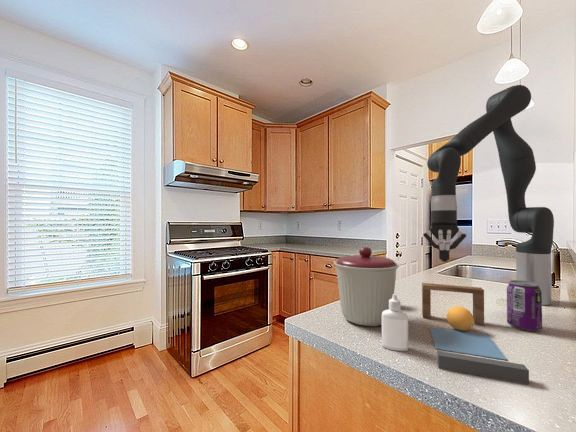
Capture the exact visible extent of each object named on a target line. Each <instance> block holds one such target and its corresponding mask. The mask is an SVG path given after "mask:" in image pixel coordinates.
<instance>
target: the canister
mask: <svg viewBox="0 0 576 432" xmlns="http://www.w3.org/2000/svg"><path fill="white" fill-rule="evenodd" d="M358 253H359V254H358V255H357V254H356V255H345V256H341V257H339V258H338V259H336V260H334V261H333V265H335V266H336V267H335V268H336V277H337V284H338V285H337V286H338V295H339V301H340V302H339V303H340V308H341V313H342V316H343V317H344V318H345V319H346V320H347V321H348V322H350V323H352V324H355V325H359V326H365V327H378V326H382V312H383V311H384V310H388V309H389V300H390V299H392V297H393V294H395V288H396V279H397V278H396V277H397V269H398V268H400V264H399V263H397V262H395V260H393V259H391V258H388V257H385V256H380V255H379V256H378V255H372V253H373V251H372V249H371V248H370V247H368V246H363V247H360V249H359V250H358Z"/></svg>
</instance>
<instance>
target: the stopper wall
mask: <svg viewBox="0 0 576 432" xmlns="http://www.w3.org/2000/svg"><path fill="white" fill-rule="evenodd" d="M436 355H437V356H436V360H437V362H436V363H437V367H438V369H442V370H447V371H451V372H458V373H463V374H470V375H473V376H480V377H484V378H490V379H491V378H492V379H495V380H496V379H497V380H502V381H506V382H513V383H518V384H523V385H528V384H529V385H530V370H529V369H528V368H527V366H526V365H525V364H523V363H515V362H509V361H505V360H499V359H493V358H487V357H480V356H474V355H468V354H462V353H456V352H449V351H443V350H436Z"/></svg>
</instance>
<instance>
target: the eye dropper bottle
mask: <svg viewBox="0 0 576 432" xmlns="http://www.w3.org/2000/svg"><path fill="white" fill-rule="evenodd" d="M381 346H382V347H383V348H385V349H388V350H391V351H397V352H407V351H408V350H409V316H408V314H407V313H406V312H405V311H403V310H401V300H399V299H398V297H397V294H396V293H394V294H393V297H392V299H390V300H389V309H388V310H384V311H383V312H382V325H381Z"/></svg>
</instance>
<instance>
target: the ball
mask: <svg viewBox="0 0 576 432" xmlns="http://www.w3.org/2000/svg"><path fill="white" fill-rule="evenodd" d="M446 319H447V322H448V324H449V326H451V327H452V328H453V329H454V330H457V331H465V332H466V331H468V330H470V329H472V328H473V326H474V324H475V323H474V318H473V313H472V312H471V311H469V309H467V308H466V307H464V306H458V305H457V306H452V307H451V308H449V309H448V310H447V313H446Z"/></svg>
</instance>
